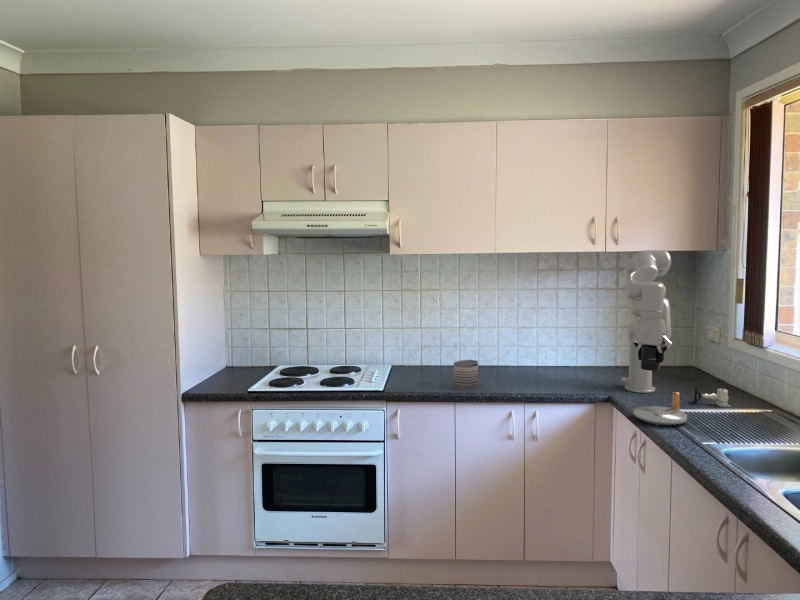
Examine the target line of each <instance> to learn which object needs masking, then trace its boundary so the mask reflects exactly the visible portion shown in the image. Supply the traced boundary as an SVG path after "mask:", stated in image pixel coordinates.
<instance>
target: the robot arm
mask: <svg viewBox="0 0 800 600" xmlns="http://www.w3.org/2000/svg"><path fill="white" fill-rule="evenodd" d="M671 265H672V257H671V255H670V252H668V251H667V250H664V249H658V250H655V249H653V250H652V249H651V250H649V249H646V250H640V251H638V252H636V254H635V255H634V257H631V258H628V259H627V260H626V261H625V263H624V271H625V273H624V274H625V276H626V280H625V289H626V290H625V291H626V296H627V299H629V300H630V309H631V310H630V311H631V314H632V316H634V317H635V318H638V319H635V320H631V321H630V322H629V323H628V325H627V334H628V341H629V345H628V346H629V347H628V348H629V357H628V358H629V359H628V360H629V361H628V377H625V376H622V377H621V383H625V386H624V388H625V390H626V391H629V392H632V393H633V392H634V393H638V394H639V393H643V394H648V393H654V392H655V391H656V387H655V386H653V382H652V381H653V371H649V370H643V369H641V348H642V346H643V345H652V346H657V349H658V351H659V353H657V363H660V364H662V363H663V362H664V359H665V353H666V351H667V350H669V348H670V347H671V346H673V343H672V341H671V340H670V339H671V337H672V322H671V321H672V320H671V319H672V318H671V305H670V301H669V299H668V298H666V294H667V291H666V290H667V289H666V286H665V285H664V284H663V282H661V281H655V280H656V278H657V277H662V276H665V275H666V274H667V273H668V271H669V270H670V268H671Z"/></svg>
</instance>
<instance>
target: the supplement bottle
mask: <svg viewBox="0 0 800 600" xmlns="http://www.w3.org/2000/svg"><path fill="white" fill-rule="evenodd" d="M657 353H659V351H658V349H657V346H652V345H643V346H642V348H641V369H643V370H649V371H652V372H654V371H655V372H657V371H659V370H660V369H661V363H657Z"/></svg>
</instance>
